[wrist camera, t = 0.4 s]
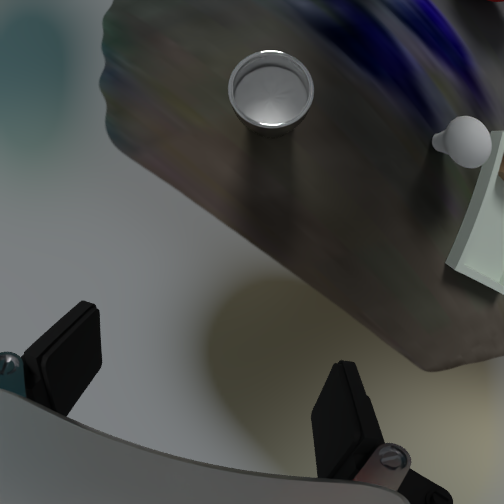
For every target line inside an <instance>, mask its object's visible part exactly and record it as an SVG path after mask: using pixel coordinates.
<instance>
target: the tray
mask: <svg viewBox="0 0 504 504" xmlns="http://www.w3.org/2000/svg"><path fill="white" fill-rule="evenodd" d="M490 137H491V142H492V149H491V154H490V156H489V158H488V160H487V161H486V162H485V163H484V164H483V165H482V167H481V171H480V174H479V177H478V180H477V183H476V186H475V189H474V192H473V195H472V198H471V201H470V204H469V206H468V209H467V212H466V215H465V217H464V220H463V222H462V225H461V227H460V230H459V232H458V235H457V237H456V240H455V242H454V244H453V247H452V249H451V251H450V253H449V256H448V258H447V260H446V262H445V263H446V264H447V265H448V266H450V267H451V268H453V269H454V270H456V271H458V272H460V273H462V274H464V275H466V276H468V277H470V278H472V279H474V280H476V281H478V282H480V283H482V284H484V285H486V286H488V287H490V288H492V289H494V290H496V291H498V292H500V293H502V294H503V295H504V181H503V180H502V179H501V177H500V176H499V175H498V171H499V168H500V164H501V161H502V157H503V153H504V131H491V134H490Z"/></svg>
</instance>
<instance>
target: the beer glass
mask: <svg viewBox="0 0 504 504" xmlns="http://www.w3.org/2000/svg"><path fill="white" fill-rule="evenodd" d="M228 93H229V98H230V101H231V104H232V108H233V110H234V112H235V114H236V116H237V117H238V119H239V120H240V121H241V122H242V123H243V124H244V125H245V126H246V127H247V128H248V129H250V130H252V131H253V132H255V133H256V134H257V135H259V136H261V137H265V138H278V137H281V136H283V135H285V134H286V133H288V132H290V131H291V130H293V129H294V128H296V127H297V126H298V125H299V124H300V123H301V122H302V121H303V120H304V118H305V117H306V115H307V113H308V111H309V109H310V106H311V103H312V100H313V96H314V85H313V80H312V77H311V75H310V73H309V71H308V69H307V68H306V67H305V66H304V64H303V63H302V62H300V61H299V60H298V59H297V58H295V57H293V56H292V55H290V54H287V53H284V52H280V51H273V50H267V51H260V52H257V53H254V54H251V55H249V56H248V57H246V58H244V59H243V60H242V61H241V62H240V63H239V64H238V65H237V66H236V67H235V69H234V70H233V72H232V74H231V76H230V79H229V84H228Z"/></svg>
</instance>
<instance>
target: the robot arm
mask: <svg viewBox="0 0 504 504" xmlns="http://www.w3.org/2000/svg"><path fill="white" fill-rule="evenodd" d="M101 365H102V353H101V337H100V313H99V310H98V309H97V308H96V305H95V304H92V303H89V302H86V301H81V302H79V303H78V304H77V305H76V306H75V307H74V308H72V309H71V310H70V311H69V312H68V313H67V314H66V315H64V316H63V317H62V318H61V319H60V320H59V321H58V322H57V323H55V324H54V325H53V326H52V327H51V328H50V329H49V330H48V331H47V332H45V333H44V334H43V335H42V336H41V337H40V338H39V339H38V340H37V341H35V342H34V343H33V344H32V345H31V346H30V347H29V348H28V349H27V350H26V351H25V352H24V355H23V356H21V357H20V356H19V355H17V354H15V353H12V352H1V353H0V504H453V499H452V496H451V495H450V493H449V492H448V491H447V490H445V489H444V488H442V487H441V486H439V485H437V484H435V483H433V482H432V481H430V480H428V479H427V478H425V477H423V476H421V475H420V474H418V473H417V472H415V471H413V470H412V469H410V465H411V457H410V455H409V453H408V452H407V451H406V450H405V449H404V448H403V447H401V446H399V445H396V444H393V443H385V442H384V439H383V436H382V433H381V430H380V427H379V424H378V421H377V418H376V415H375V412H374V409H373V406H372V403H371V400H370V398H369V397H368V396H367V395H366V392H365V390H364V387H363V384H362V381H361V378H360V376H359V373H358V370H357V367H356V365H355V363H354V362H350V361H343V360H341V361H339V362H338V363H335V364H334V365H333V367H332V369H331V371H330V374H329V376H328V378H327V380H326V382H325V385H324V387H323V389H322V391H321V393H320V395H319V398H318V400H317V402H316V404H315V406H314V408H313V410H312V414H311V421H312V429H313V438H314V447H315V456H316V465H317V475H318V478H310V477H297V476H286V475H277V474H268V473H260V472H253V471H246V470H240V469H234V468H228V467H223V466H218V465H213V464H208V463H203V462H198V461H194V460H190V459H186V458H182V457H178V456H174V455H171V454H167V453H163V452H160V451H157V450H153V449H150V448H147V447H143V446H140V445H137V444H134V443H131V442H128V441H125V440H122V439H120V438H117V437H114V436H112V435H109V434H106V433H104V432H101V431H99V430H96V429H94V428H91V427H89V426H86V425H84V424H82V423H79V422H77V421H75V420H73V419H70V418H68V417H66V416H67V415H68V413H69V412H70V411H71V409H72V407H73V406H74V405H75V403H76V402H77V401H78V399H79V398H80V396H81V395H82V393H83V392H84V390H85V389H86V388H87V386H88V385H89V384H90V382H91V381H92V379H93V378H94V376H95V375H96V374H97V373H98V371H99V370H100V368H101Z"/></svg>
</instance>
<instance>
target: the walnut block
mask: <svg viewBox="0 0 504 504" xmlns="http://www.w3.org/2000/svg"><path fill="white" fill-rule="evenodd" d="M498 175H499V176H500V177H501V179H502V180H503V181H504V153H503V157H502V161H501V164H500V168H499V171H498Z"/></svg>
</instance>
